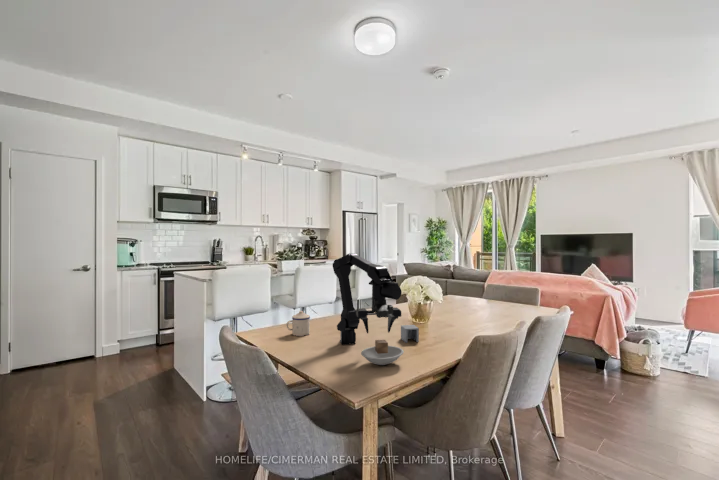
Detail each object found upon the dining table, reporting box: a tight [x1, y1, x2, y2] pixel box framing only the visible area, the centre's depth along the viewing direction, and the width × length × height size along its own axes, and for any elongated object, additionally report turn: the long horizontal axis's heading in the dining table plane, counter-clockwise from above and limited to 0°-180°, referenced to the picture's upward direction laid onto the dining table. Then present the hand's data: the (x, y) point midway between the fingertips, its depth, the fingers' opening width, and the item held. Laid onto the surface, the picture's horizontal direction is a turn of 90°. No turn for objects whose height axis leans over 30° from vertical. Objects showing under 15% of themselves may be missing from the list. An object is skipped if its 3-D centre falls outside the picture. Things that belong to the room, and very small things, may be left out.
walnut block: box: [374, 339, 389, 354], centre depth 135 cm, size 4×4×4 cm
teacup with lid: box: [285, 310, 311, 337], centre depth 176 cm, size 12×9×12 cm
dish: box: [360, 345, 405, 366], centre depth 134 cm, size 18×14×5 cm
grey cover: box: [400, 324, 420, 344], centre depth 166 cm, size 7×7×6 cm
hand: (378, 332), depth 147 cm, fingers open, 9 cm apart
